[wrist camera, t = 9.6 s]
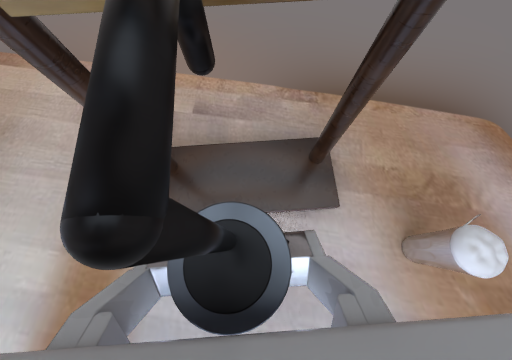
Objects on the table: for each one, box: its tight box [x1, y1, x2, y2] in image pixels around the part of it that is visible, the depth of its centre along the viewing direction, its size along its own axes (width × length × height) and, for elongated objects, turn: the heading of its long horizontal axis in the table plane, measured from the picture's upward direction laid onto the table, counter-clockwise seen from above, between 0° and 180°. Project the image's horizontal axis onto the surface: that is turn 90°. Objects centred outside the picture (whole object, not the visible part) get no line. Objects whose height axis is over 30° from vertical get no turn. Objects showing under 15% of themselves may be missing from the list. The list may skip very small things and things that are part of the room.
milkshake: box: [402, 214, 509, 278], centre depth 22 cm, size 4×5×10 cm
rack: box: [0, 0, 446, 213], centre depth 18 cm, size 10×24×25 cm, turn 94°
